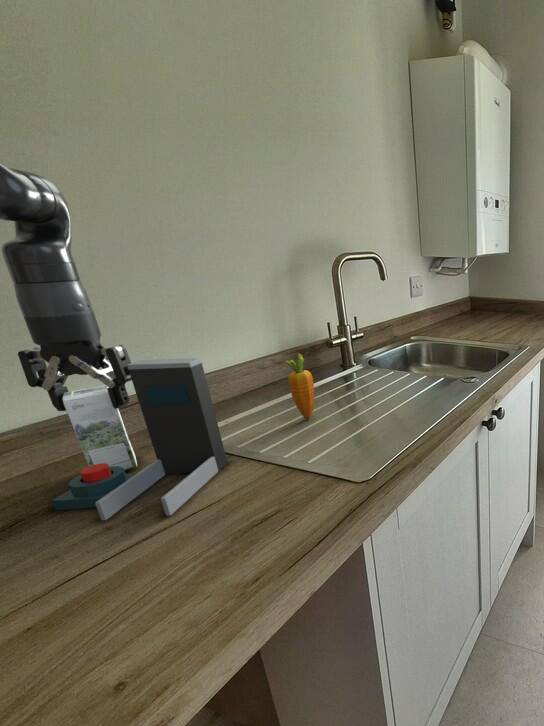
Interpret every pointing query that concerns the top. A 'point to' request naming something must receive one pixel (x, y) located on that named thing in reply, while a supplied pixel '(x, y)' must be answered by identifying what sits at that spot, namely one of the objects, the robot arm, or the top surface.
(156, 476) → the grey panel on legs
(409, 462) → the top surface
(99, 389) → the syrup box
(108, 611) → the top surface
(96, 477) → the stop button
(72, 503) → the control block
